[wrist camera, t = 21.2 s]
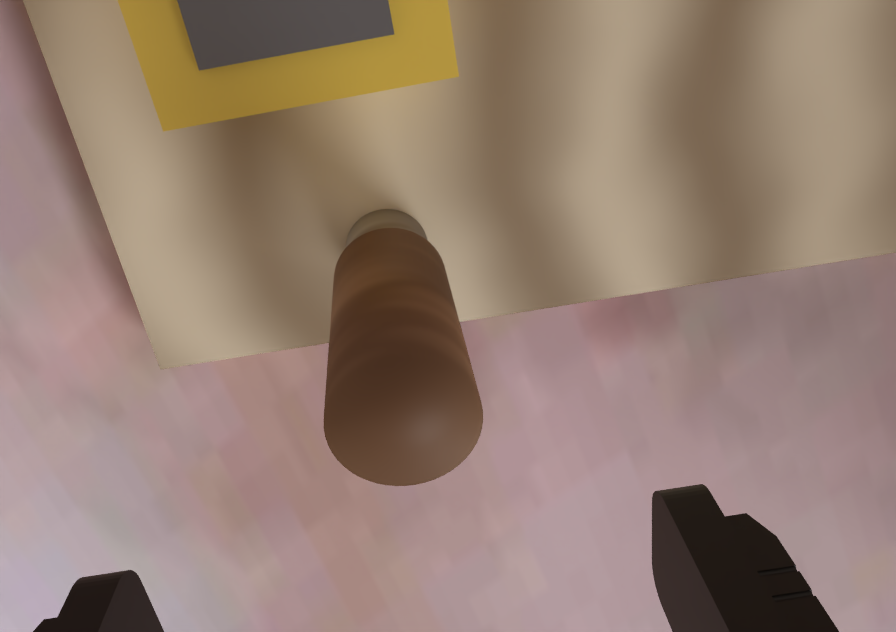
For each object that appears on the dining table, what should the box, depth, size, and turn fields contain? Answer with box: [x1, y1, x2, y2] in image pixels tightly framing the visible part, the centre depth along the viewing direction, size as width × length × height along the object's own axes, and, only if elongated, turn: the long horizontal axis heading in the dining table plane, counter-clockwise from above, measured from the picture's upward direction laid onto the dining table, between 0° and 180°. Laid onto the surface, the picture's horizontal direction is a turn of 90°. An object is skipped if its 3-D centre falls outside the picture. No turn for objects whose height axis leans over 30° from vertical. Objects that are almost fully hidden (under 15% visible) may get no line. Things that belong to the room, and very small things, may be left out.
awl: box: [324, 209, 483, 486], centre depth 19 cm, size 3×3×10 cm
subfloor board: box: [23, 0, 896, 369], centre depth 21 cm, size 26×20×2 cm
